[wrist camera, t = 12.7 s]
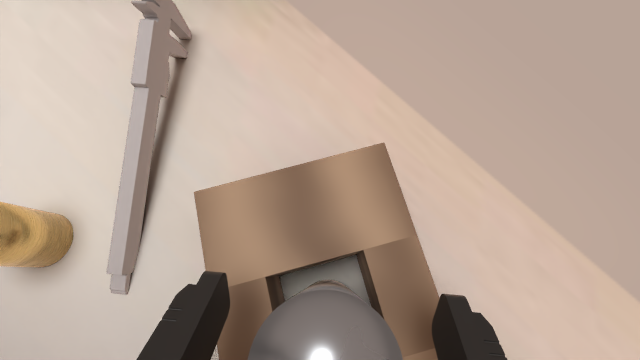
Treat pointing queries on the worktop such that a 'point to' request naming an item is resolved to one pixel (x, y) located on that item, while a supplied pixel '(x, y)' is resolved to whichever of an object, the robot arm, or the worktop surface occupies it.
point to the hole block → (318, 243)
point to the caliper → (143, 130)
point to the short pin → (32, 236)
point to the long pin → (325, 328)
